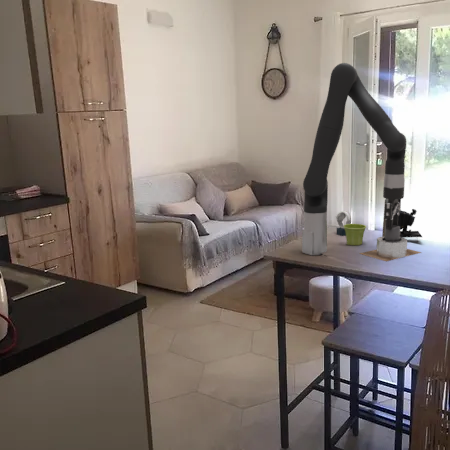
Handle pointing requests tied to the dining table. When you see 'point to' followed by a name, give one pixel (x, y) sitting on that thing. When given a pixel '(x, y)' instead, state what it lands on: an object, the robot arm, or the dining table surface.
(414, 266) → the dining table surface
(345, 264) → the dining table surface
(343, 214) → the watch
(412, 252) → the mount board
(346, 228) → the plant pot
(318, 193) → the robot arm
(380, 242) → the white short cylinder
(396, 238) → the gray cylinder
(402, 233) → the vintage camera
